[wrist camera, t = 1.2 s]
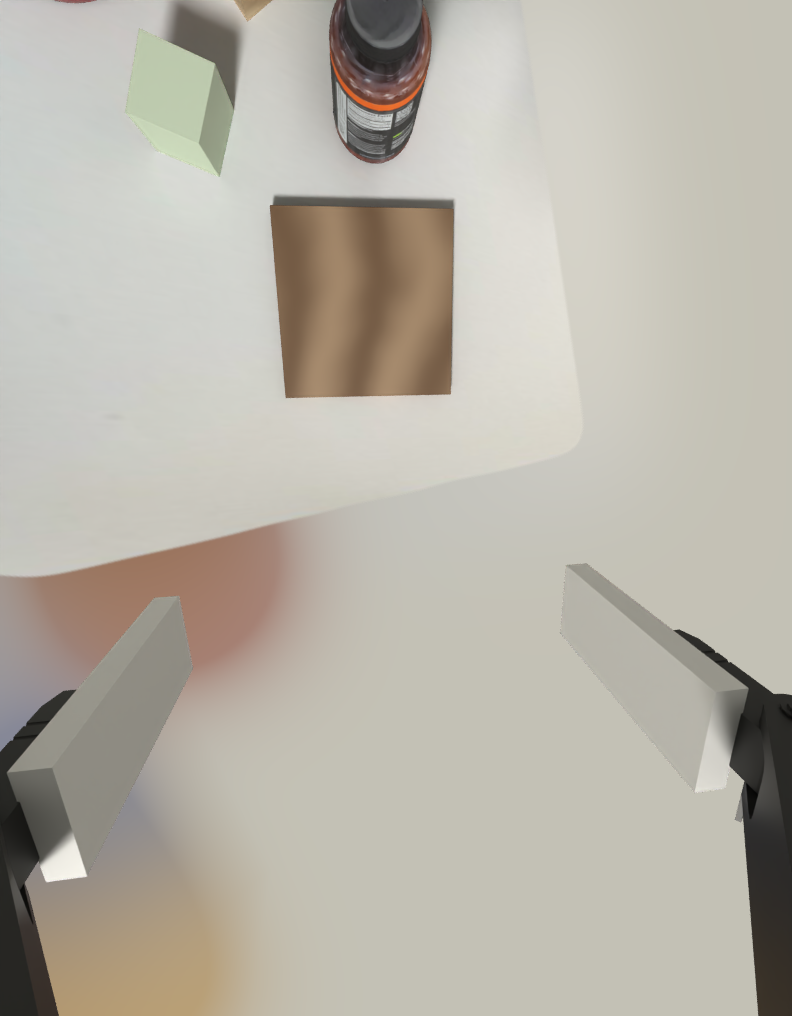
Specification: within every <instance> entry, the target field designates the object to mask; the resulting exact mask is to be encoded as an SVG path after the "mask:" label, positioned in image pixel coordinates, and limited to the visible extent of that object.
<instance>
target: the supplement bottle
mask: <svg viewBox="0 0 792 1016" xmlns="http://www.w3.org/2000/svg"><path fill="white" fill-rule="evenodd" d="M329 41H330V64H331V79H332V94H333V113H334V119H335V125H336V129H337V132H338V134H339V136H340V139H341V140H342V142H343V144H344V145H345V147H346V148H347V149H348V150H349V152H350V153H352V154H353V155H354V156H356V157H357V158H359V159H360V160H363V161H365V162H369V163H384V162H386V161H389V160H391V159H393V158H394V157H396V156H397V155H398V154H399V153H400V152H401V151H402V150H403V149H404V147H405V146H406V144H407V142H408V141H409V138H410V135H411V133H412V130H413V126H414V122H415V118H416V114H417V110H418V106H419V102H420V98H421V95H422V90H423V87H424V82H425V79H426V75H427V70H428V66H429V61H430V55H431V29H430V23H429V18H428V15H427V12H426V10H425V7H424V5H423V0H337V1H336V3H335V5H334V8H333V11H332V15H331V20H330V29H329Z"/></svg>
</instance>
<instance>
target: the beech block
mask: <svg viewBox="0 0 792 1016" xmlns="http://www.w3.org/2000/svg"><path fill="white" fill-rule="evenodd" d="M234 1H235V3H236V4H237V6H238V7H239V9H240V10H241V12H242V14H243V15H244V17H245V18H246V20H247V21H249V20H250V19H251V18H252V17H253V16H255V15H256V14H257V13H258V12H259V11H260V10H261V9H263V8H264V7H265V6H266V5H267V4H268V3H270V2H271V1H272V0H234Z"/></svg>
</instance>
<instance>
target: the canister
mask: <svg viewBox="0 0 792 1016" xmlns="http://www.w3.org/2000/svg"><path fill="white" fill-rule="evenodd" d="M55 1H59V2H66V3H85V2H91V1H95V0H55Z"/></svg>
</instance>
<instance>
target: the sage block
mask: <svg viewBox="0 0 792 1016" xmlns="http://www.w3.org/2000/svg"><path fill="white" fill-rule="evenodd" d="M125 112H126V114H127V115H128V116H129V117H130V118H131V120H132V121H133V122H134V123H135V125H136V126H137V127H138V128H139V129H140V131H141V132H142V133H143V134H144V136H145V137H146V138H147V139H148V141H149V142H150V143H151V144H152V145H153V147H154V148H155V149H156V150H157V151H158V152H160V153H163V154H165V155H168V156H170V157H172V158H175V159H177V160H180V161H182V162H184V163H187V164H189V165H192V166H194V167H196V168H199V169H201V170H204V171H206V172H208V173H211V174H213V175H215V176H218V177H220V173H221V168H222V164H223V159H224V154H225V150H226V145H227V141H228V136H229V131H230V127H231V122H232V117H233V113H234V109H233V106H232V104H231V101H230V99H229V96H228V94H227V91H226V89H225V87H224V84H223V82H222V79H221V77H220V74H219V72H218V70H217V67H216V65H215V63H213V62H211V61H208V60H206V59H204V58H202V57H200V56H198V55H195V54H193V53H191V52H189V51H187V50H185V49H183V48H180V47H178V46H176V45H174V44H172V43H170V42H167V41H165V40H163V39H161V38H159V37H157V36H155V35H152V34H150V33H148V32H146V31H144V30H142V29H140V28H139V32H138V38H137V44H136V50H135V56H134V62H133V68H132V74H131V80H130V86H129V92H128V98H127V103H126V109H125Z"/></svg>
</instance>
